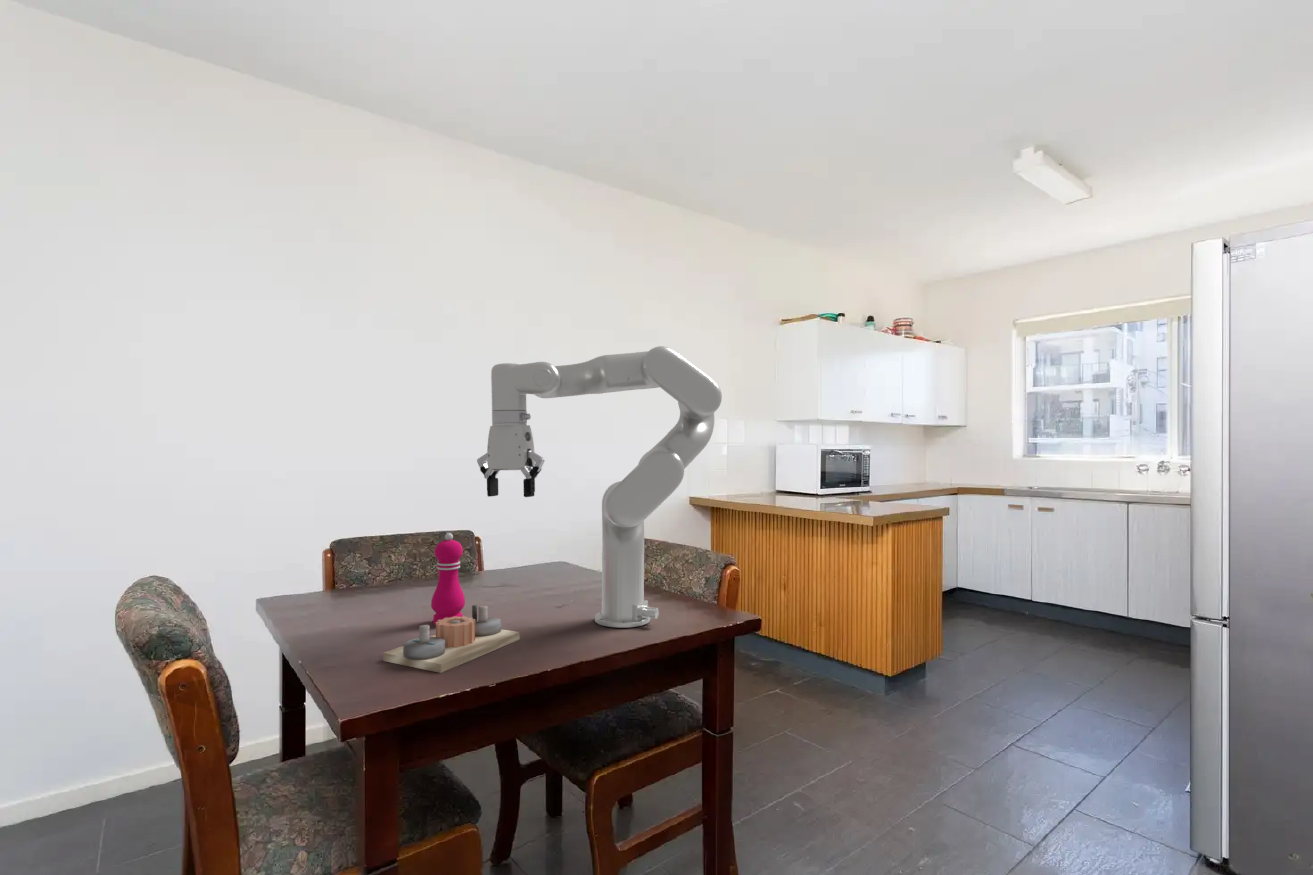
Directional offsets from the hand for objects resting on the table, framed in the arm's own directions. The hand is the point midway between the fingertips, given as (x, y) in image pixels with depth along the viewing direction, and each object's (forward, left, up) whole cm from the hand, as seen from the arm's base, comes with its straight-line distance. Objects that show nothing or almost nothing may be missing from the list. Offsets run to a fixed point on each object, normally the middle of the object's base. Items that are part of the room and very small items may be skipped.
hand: (510, 496), depth 146 cm
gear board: (-2, +19, -28) cm, 34 cm away
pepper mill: (+13, +5, -29) cm, 32 cm away
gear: (-2, +19, -27) cm, 33 cm away
